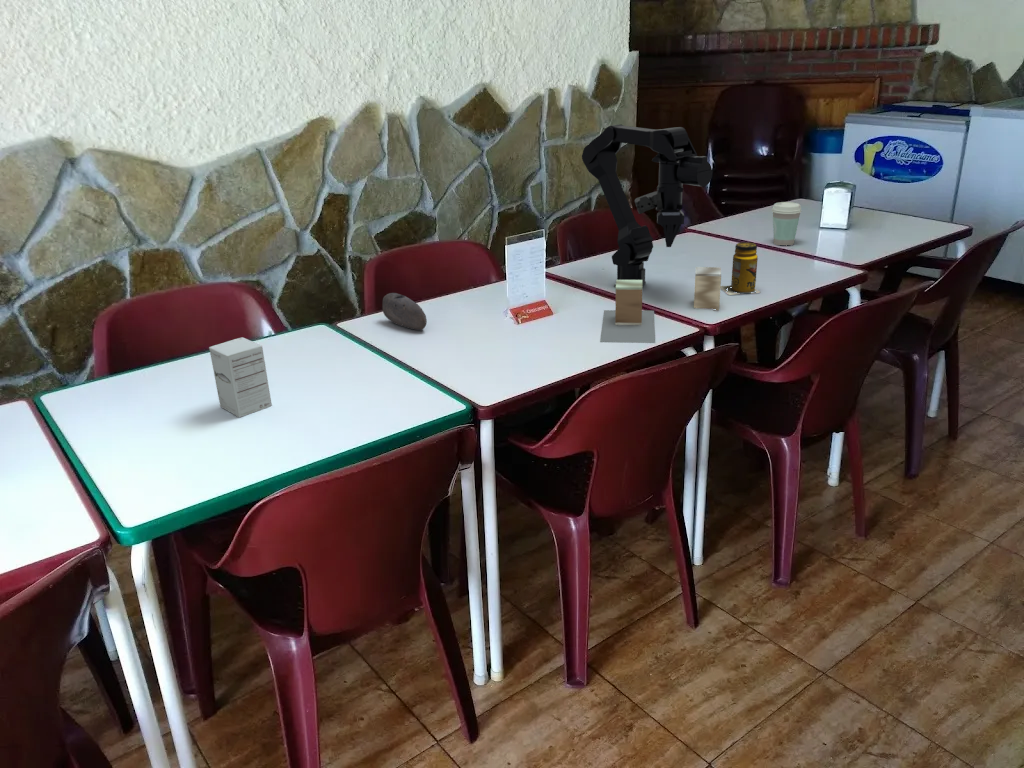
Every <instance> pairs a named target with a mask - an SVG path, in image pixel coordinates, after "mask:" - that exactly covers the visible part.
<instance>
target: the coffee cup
mask: <svg viewBox="0 0 1024 768" xmlns="http://www.w3.org/2000/svg"><path fill="white" fill-rule="evenodd" d="M772 206H773V207H772V208H771V212H772V228H773V230H772V232H773V244H774V245H775V244H776V245H775V246H778V245H786V246H785V247H788V246H787V245H791V246H793V245H794V244H795V239H796V235H797V231H798V225H799V221H800V215H801V213H802V207H801V204H800V203H798V202H792V201H781V202H776V203H774V204H773V205H772Z"/></svg>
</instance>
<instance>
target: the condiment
mask: <svg viewBox="0 0 1024 768" xmlns="http://www.w3.org/2000/svg"><path fill="white" fill-rule="evenodd" d="M757 249H758V246H757V244H756V243H754V242H746V241H745V242H738V243H736V244H735V249H734V254H733V255H732V256H733V257H732V267H731V270H732V271H731V280H730V281H731V283H730V284H731V285H721V288H720V290H721V291H723V292H724V293H726V294H727V295H728V296H732V295H741V294H740V293H751V292H755V291H756V293H755V294H759V293H761V291H759V290H758V289H757V288H756V283H757V268H758V259H759V258H758V257H759V256H758V254H757ZM730 287H732V288H730ZM727 288H728V291H727V290H726V289H727ZM726 291H727V292H726ZM734 292H737V293H734ZM751 294H753V293H751Z"/></svg>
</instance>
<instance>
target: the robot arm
mask: <svg viewBox="0 0 1024 768" xmlns="http://www.w3.org/2000/svg"><path fill="white" fill-rule="evenodd" d="M623 144H628V145H629V144H630V145H633V146H634V145H635V146H636V145H637V146H643V147H647V148H650V149H651V150H652V151H653V152H655V153H657V154H656V155H655V156H654V157H653V158H652V160H651V161H652V162H654V163H659V164H658V166H659V167H658V185H657V187H656V191H653V192H650V193H647V194H644V195H641V196H638V197H636V198H635V199H634V204H635V207H636V210H637V212H638V214H639V215H640V214H644V213H645V212H648V211H650V210H653V209H655V210H656V212H657V211H658V212H657V213H656V224H657V225H660V226H661V227H662V228H663V234H664V240H665V245H666V248H671V247H672V246H673V244H674V241H675V239H676V237H677V235H678V232H679V230H680V228H681V226H682V225H684V224H685V214H684V212H683V211H682V210H683V192H684V187H683V185H689V186H696V187H701V188H704V187H707V186H708V185H709V183H711V180H712V178H713V174H714V173H713V172H714V171H713V168H712V165H711V163H710V162H709V161H708V156H706V155H702V156H700V155H699V156H698V153H697V152H696V150H695V148H694V146H693V143H692V142H691V139H690V137H689V135H688V132H687V130H686V129H685V127H682V126H678V127H668V128H662V129H661V128H660V129H653V128H646V127H637V126H629V125H623V124H619V123H618V124H613V125H608V126H607V127H605V129H604V130H603V131H602V132H601V133H600V134H599V135H598V136H597V137H595V138H594V139H592V140H591V141H590V142H589V143H588V144H587V145H586V146H585V147H584V148H583V151H582V154H581V159H582V160H581V161H582V162H583V164H584V166H585V168H586V169H587V171H588V173H589V174H590V175H592V176H593V177H594V178H595V179H597V181H598V183H599V185H600V187H601V190H602V192H603V194H604V198H605V199H606V202H607V204H608V207H609V210H610V212H611V214H612V217H613V220H614V221H615V224H616V226H617V229H618V233H617V246H618V249H617V250H616V251H615V252H614V253H613V254H612V255H611V261H612V264H613V265H614V266H617V267H616V268H617V269H616V270H617V271H616V272H617V273H616V275H617V276H616V280H642V287H643V286H644V285H646V283H647V281H646V268H645V267H644V266H645V262H647V261H649V258H650V256H651V253H652V252H653V248H654V243H653V240H654V238H653V237H652V235H651V233H650V229H649V227H648V226H647V225H640V224H639V223H638V222H637V220H636V217H635V215H634V212H633V210H632V208H631V206H630V204H629V200H628V199H627V196H626V194H625V191H624V188H623V186H622V184H621V181H620V179H619V176H618V174H617V166H618V159H617V153H619V152H620V150H621V148H622V145H623ZM614 287H615V288H616V283H615V284H614Z"/></svg>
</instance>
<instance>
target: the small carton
mask: <svg viewBox="0 0 1024 768" xmlns="http://www.w3.org/2000/svg"><path fill="white" fill-rule="evenodd" d="M615 284H616V287H615V310H616V311H615V325H642V311H643V286H642V280H617V279H616V280H615Z"/></svg>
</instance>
